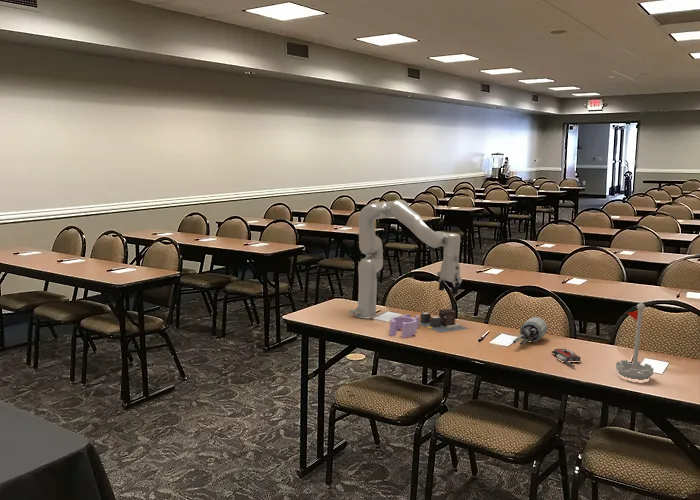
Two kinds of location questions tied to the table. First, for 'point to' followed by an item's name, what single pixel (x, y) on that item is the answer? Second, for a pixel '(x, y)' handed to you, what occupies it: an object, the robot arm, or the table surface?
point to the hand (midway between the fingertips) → (448, 292)
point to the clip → (404, 325)
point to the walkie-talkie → (566, 355)
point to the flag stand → (635, 353)
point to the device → (532, 330)
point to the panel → (443, 327)
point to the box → (447, 317)
